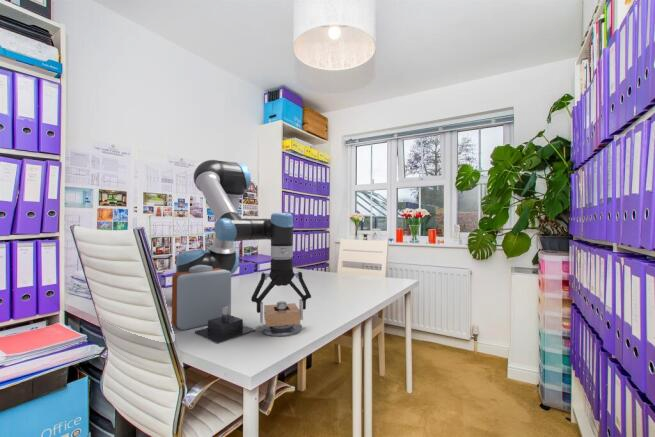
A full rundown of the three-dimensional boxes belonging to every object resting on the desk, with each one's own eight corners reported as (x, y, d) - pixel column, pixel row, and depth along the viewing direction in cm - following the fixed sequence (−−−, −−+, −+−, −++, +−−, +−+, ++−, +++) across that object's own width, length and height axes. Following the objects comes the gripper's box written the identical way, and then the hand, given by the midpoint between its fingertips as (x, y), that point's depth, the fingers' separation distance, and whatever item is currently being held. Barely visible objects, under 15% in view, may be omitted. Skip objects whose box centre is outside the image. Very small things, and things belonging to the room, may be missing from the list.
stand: (194, 332, 103) (194, 306, 103) (231, 322, 113) (231, 298, 114) (217, 343, 94) (217, 315, 94) (255, 331, 104) (255, 305, 105)
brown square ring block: (264, 316, 111) (264, 305, 111) (294, 314, 113) (294, 303, 113) (266, 326, 100) (266, 314, 100) (300, 323, 103) (300, 311, 103)
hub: (252, 329, 106) (252, 303, 106) (283, 319, 116) (283, 295, 117) (279, 339, 97) (279, 310, 97) (310, 328, 108) (310, 301, 108)
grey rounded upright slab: (221, 314, 123) (221, 262, 123) (231, 319, 117) (232, 264, 117) (171, 325, 110) (171, 267, 110) (180, 331, 104) (180, 269, 104)
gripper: (244, 260, 100) (243, 327, 100) (319, 258, 106) (319, 320, 106) (244, 257, 107) (243, 319, 107) (314, 255, 114) (314, 314, 114)
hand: (281, 320), depth 107 cm, fingers open, 13 cm apart
